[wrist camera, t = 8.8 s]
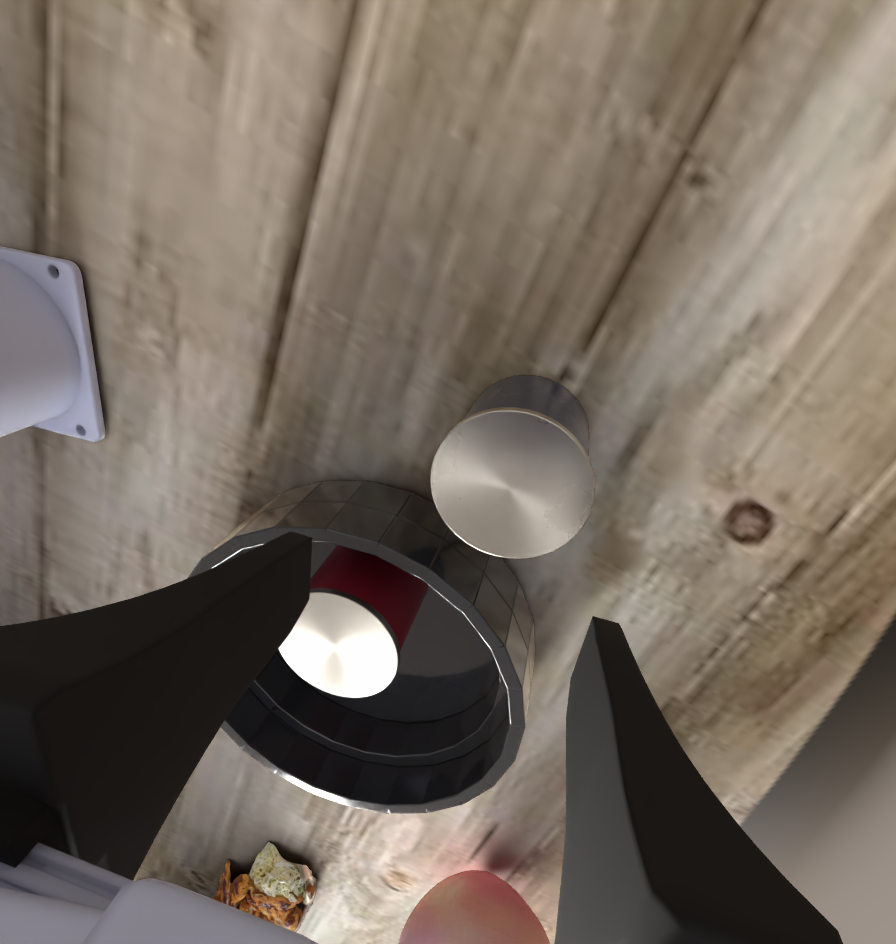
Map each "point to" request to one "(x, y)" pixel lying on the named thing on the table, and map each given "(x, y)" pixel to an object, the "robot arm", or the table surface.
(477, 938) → the decorative fruit
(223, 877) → the chicken with coleslaw
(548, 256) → the table surface
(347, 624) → the disc
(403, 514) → the bowl
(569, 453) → the cylinder
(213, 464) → the table surface
